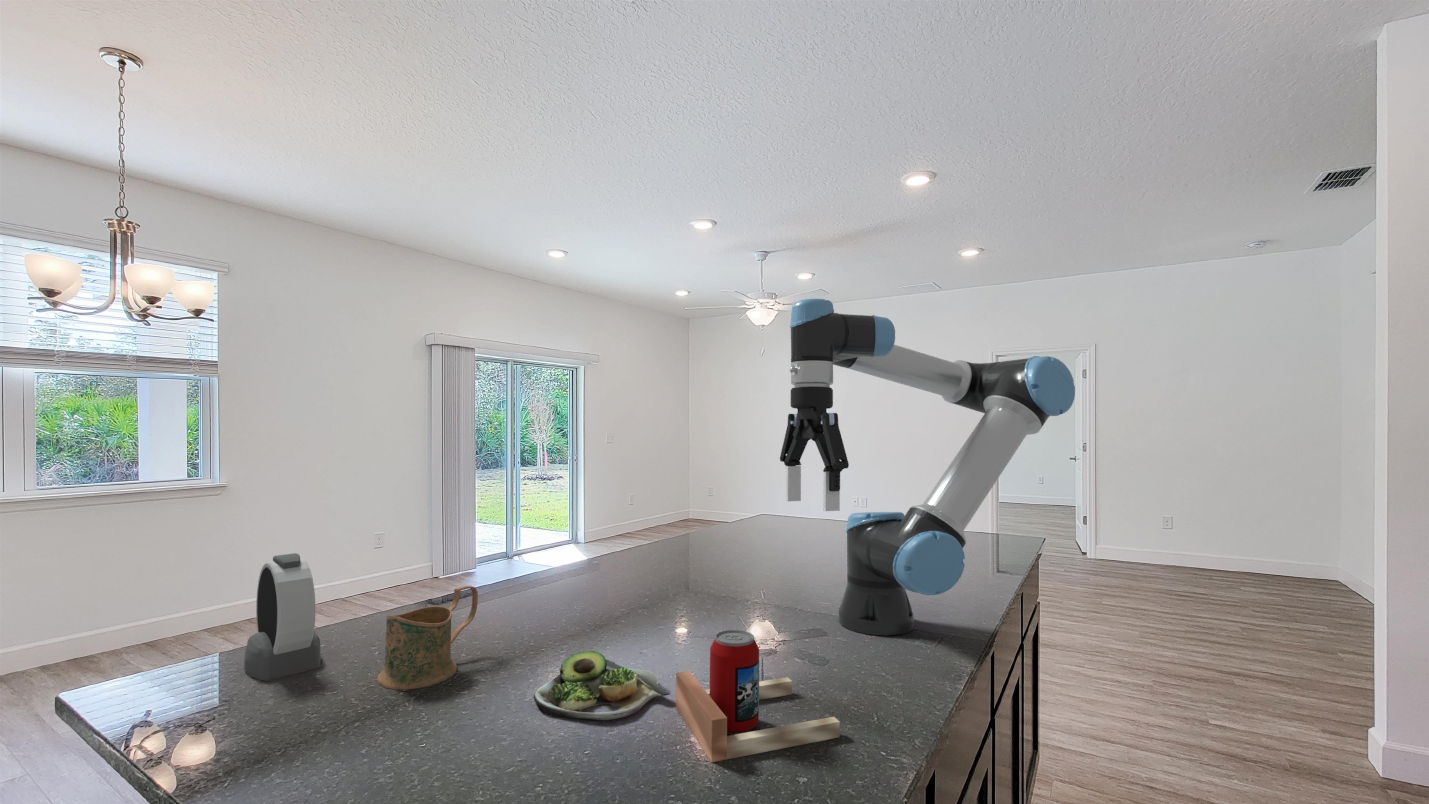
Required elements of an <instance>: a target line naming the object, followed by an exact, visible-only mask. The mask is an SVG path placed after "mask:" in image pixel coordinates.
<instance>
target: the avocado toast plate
mask: <svg viewBox="0 0 1429 804" xmlns="http://www.w3.org/2000/svg"><path fill="white" fill-rule="evenodd" d="M558 671H559V675H557V676H556V677H554V678H553V679H551V680H550V681H548V682H546V683H545V684H543V685H541V686H540V687H539V688H537V690H536V691H535V692H534V695H533V699H534V702H535V704H536V706H537V707H538V708H539V709H540V710H542V711H544V712H545V713H547V714H551V715H554V716H561V717H562V716H563V717H567V718H573V719H580V720H595V721H596V720H597V721H610V720H611V721H612V720H617V719H618V720H619V719H622V718H625V717H629V716H632V715H633V714H635V713H637V712H639V711H640V710H641V709H642V708H644V706H645V705H646V704H647V703H648V702H649V701H651V700H652V699H653V698H655V697H659V696H660V697H666V696H669V695H670V694H671V690H669V689H667V688H665V686H662V685H660V681H659V679H658V677H657V676H656V674H655V673H653V672H651V671H650V670H644V669H637V668H636V669H635V668H630V667H629V668H628V667H626V666H621V665H619V664H616V662H614V661H611V660H609V659H606V657H605V656H604V655H603V654H602V653H600V652H599V651H595V650H582V651H578V652H576V653H574V654H572V655H570V656H569V657H568V658H566V659H565V660H563V662H562V663H561V665H560V668H559V670H558ZM598 705H610V706H617V707H618V709H615V710H607V711H606V710H605V711H600V712H583V711H584V710H586V709H588V708H589V709H590V708H591V707H594V706H595V707H596V706H598Z"/></svg>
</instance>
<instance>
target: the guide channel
mask: <svg viewBox="0 0 1429 804" xmlns="http://www.w3.org/2000/svg"><path fill="white" fill-rule="evenodd" d="M675 676H676V677H675V709H676V710H677V712H678V714H679V715H680V717H681V719H682V720H683V721H684V723H685V724H686V726H687V727H688V730H689V731H690V732H691V734H692V735H693V736H694V738H695V739H696V741H697V743H698V745H699V746H700V747H701V749H702V751H704V754H705V755H706V756H707V759H709V761H710V763H716V762H721V761H725V760H729V759H730V760H731V759H735V758H736V759H737V758H741V757H747V756H751V755H757V754H762V753H765V752H770V751H771V752H773V751H776V750H781V749H787V748H793V747H796V746H797V747H798V746H803V745H807V744H812V743H813V744H814V743H817V742H818V743H819V742H823V741H827V740H832V739H837V738H841V722H840V720H838V719H837V717H835V716H830V717H825V718H819V719H813V720H808V721H801V722H797V723H791V724H786V725H780V726H775V727H769V728H764V729H760V730H753V731H752V730H751V731H748V732H746V733H741V734H729V735H728V734H727V717H726V716H725V715H724V713H723V712H722V711H721V710H720V708H719V707H718V706H717V705H716V703H715V702H714V701H713V700H712V699H711V697H710V688H707V689H705V688H703V686H702V685H701V684H700V682H699V681H698V680H697V678H696V677H695V676H694V675H693V674H692V673H691V671H690V670H689V671H682V672H676V673H675ZM789 695H791V696H792V695H793V680H792V679H791V678H789V677H788V676H787V677H781V678H774V679H768V680H767V679H765V680H761V681H760V680H759V701H760V700H765V699H772V698H778V697H784V696H789Z"/></svg>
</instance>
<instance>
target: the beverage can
mask: <svg viewBox="0 0 1429 804" xmlns="http://www.w3.org/2000/svg"><path fill="white" fill-rule="evenodd" d="M709 649H710V650H709V689H710V697H711V699H712V700H713V701H714V702H715V703H716V705H717V706H718V707H719V708H720V710H721V711H722V712H723V713H724V715H725V716H726V717H727V735H728V734H729V735H735V734H741V733H746V732H750V730H751V731H752V729H754V728H756V726H758V723H759V718H760V717H759V715H760V711H759V710H760V700H759V681H760V648H759V646H758V643H757V642H756V640H755V636H754V634H753V633H752V632H748V631H745V630H741V629H729V630H722V631H719V632H717V633H716V634H715V636H714V640H713V642H712V643H711V645H710V648H709Z"/></svg>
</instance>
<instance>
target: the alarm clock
mask: <svg viewBox="0 0 1429 804" xmlns="http://www.w3.org/2000/svg"><path fill="white" fill-rule="evenodd" d="M314 585H315V584H314V579H313V575H312V571H311V568H310V565H309V564H308V561H306V559H304V557H301V556H300V554H299V553H296V552H295V553H286V554H278V555H274V556H273V557H272V560H271V561H267V562H265V563H264V565H263V566H262V567H261V569H260V572H259V576H258V582H257V589H256V603H255V604H256V606H255V607H256V608H255V609H256V612H255V615H256V630H257V632H256V633H254V634H252V635H250V636H249V638H248V639H247V642H246V648H245V652H244V661H243V662H244V664H243V667H244V668H243V669H244V673H246V674H247V675H248V676H249V677H251V678H254V679H256V680H261V681H271V680H275V679H280V678H283V677H287V676H291V675H296V674H300V673H303V672H307V671H311V670H315V669H317V668H319V667H320V665H321V640H320V637H319V635H318V633H317V632H316V631H315V626H316V593H315V586H314Z"/></svg>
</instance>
